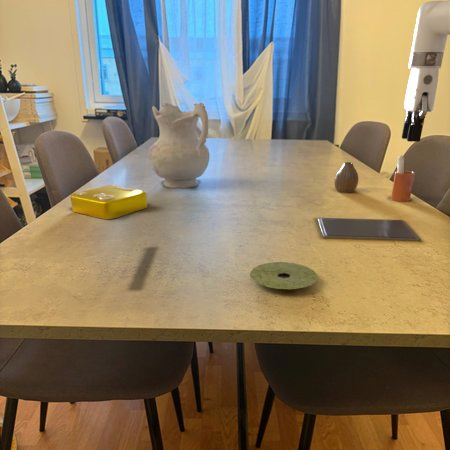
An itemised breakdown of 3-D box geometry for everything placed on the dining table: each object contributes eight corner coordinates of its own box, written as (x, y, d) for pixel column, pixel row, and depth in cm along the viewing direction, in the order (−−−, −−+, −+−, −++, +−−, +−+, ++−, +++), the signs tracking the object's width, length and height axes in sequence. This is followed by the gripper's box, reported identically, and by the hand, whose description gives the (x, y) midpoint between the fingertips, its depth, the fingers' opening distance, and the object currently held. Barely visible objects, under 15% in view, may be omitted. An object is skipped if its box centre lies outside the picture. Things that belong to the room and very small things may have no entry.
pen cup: (406, 199, 124) (411, 170, 121) (411, 203, 120) (417, 174, 116) (388, 198, 125) (393, 170, 121) (392, 203, 120) (398, 174, 117)
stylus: (402, 198, 123) (403, 154, 117) (403, 199, 121) (404, 155, 116) (396, 198, 123) (397, 155, 118) (397, 200, 121) (398, 156, 116)
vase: (357, 195, 128) (362, 165, 124) (334, 194, 129) (337, 164, 125) (355, 190, 134) (359, 161, 130) (332, 189, 135) (335, 160, 131)
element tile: (150, 207, 117) (149, 189, 115) (108, 220, 106) (106, 201, 104) (112, 199, 125) (110, 182, 122) (69, 211, 114) (66, 193, 111)
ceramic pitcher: (225, 185, 145) (227, 104, 135) (198, 193, 129) (198, 102, 119) (170, 180, 153) (168, 103, 143) (137, 187, 137) (133, 101, 127)
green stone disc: (246, 297, 69) (246, 286, 68) (253, 269, 79) (253, 259, 78) (317, 302, 67) (318, 290, 67) (315, 273, 77) (316, 263, 76)
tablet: (401, 224, 103) (402, 219, 103) (419, 244, 91) (420, 239, 90) (317, 221, 105) (317, 217, 105) (323, 240, 93) (323, 236, 92)
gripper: (453, 60, 99) (435, 144, 107) (430, 62, 114) (415, 136, 122) (419, 60, 99) (404, 144, 108) (400, 62, 114) (388, 135, 123)
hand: (410, 139), depth 115 cm, fingers open, 4 cm apart
